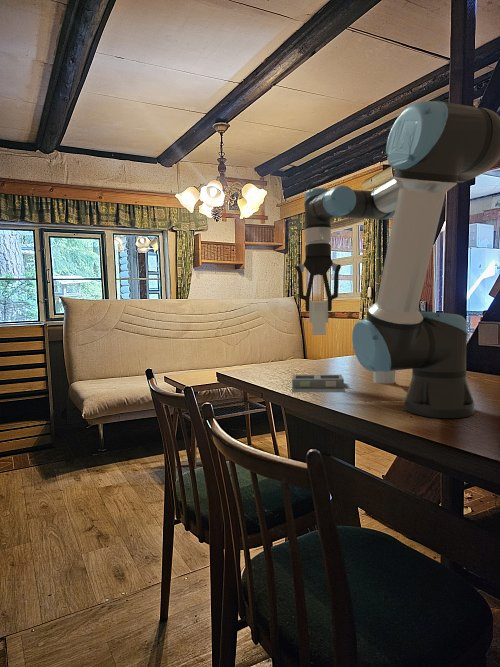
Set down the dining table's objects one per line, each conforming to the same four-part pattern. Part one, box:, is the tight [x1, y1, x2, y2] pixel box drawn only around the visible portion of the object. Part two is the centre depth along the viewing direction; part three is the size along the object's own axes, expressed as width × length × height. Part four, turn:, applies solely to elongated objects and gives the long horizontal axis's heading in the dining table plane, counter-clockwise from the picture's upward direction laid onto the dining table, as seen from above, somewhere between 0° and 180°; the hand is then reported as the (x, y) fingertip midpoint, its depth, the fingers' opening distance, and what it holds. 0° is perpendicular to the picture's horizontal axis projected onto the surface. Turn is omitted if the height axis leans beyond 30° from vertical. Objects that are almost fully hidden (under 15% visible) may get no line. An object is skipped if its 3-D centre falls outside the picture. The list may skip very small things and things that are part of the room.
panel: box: [291, 374, 346, 393], centre depth 132 cm, size 20×15×4 cm
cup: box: [372, 370, 396, 385], centre depth 134 cm, size 8×8×12 cm
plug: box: [311, 300, 327, 336], centre depth 131 cm, size 5×4×10 cm
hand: (318, 322), depth 131 cm, fingers closed on plug, 4 cm apart
